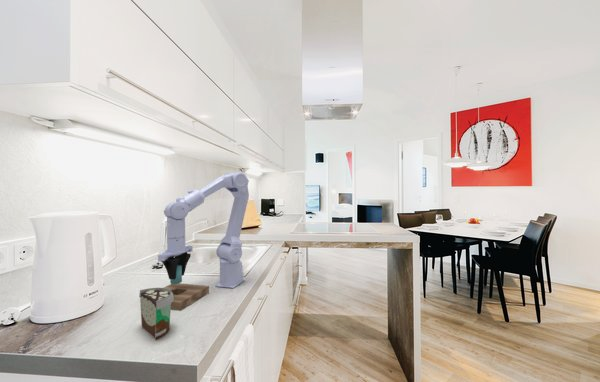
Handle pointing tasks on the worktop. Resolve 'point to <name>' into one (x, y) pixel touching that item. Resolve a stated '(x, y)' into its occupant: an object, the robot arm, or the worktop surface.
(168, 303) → the food container
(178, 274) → the teal peg
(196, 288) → the walnut collar plate
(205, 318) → the worktop surface
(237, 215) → the robot arm
